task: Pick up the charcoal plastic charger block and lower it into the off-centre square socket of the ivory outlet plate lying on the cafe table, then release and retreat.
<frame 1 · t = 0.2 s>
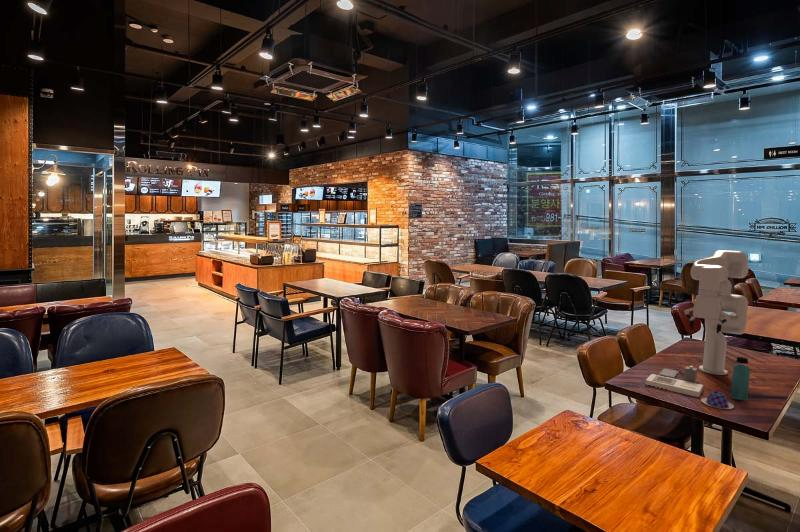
hand: (704, 330, 204), 30 cm above the table, fingers open, 9 cm apart
beverage bottle: (738, 401, 201), on the table
charger: (689, 384, 221), on the table
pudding: (717, 405, 197), on the table
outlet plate: (673, 387, 216), on the table
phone: (668, 374, 235), on the table
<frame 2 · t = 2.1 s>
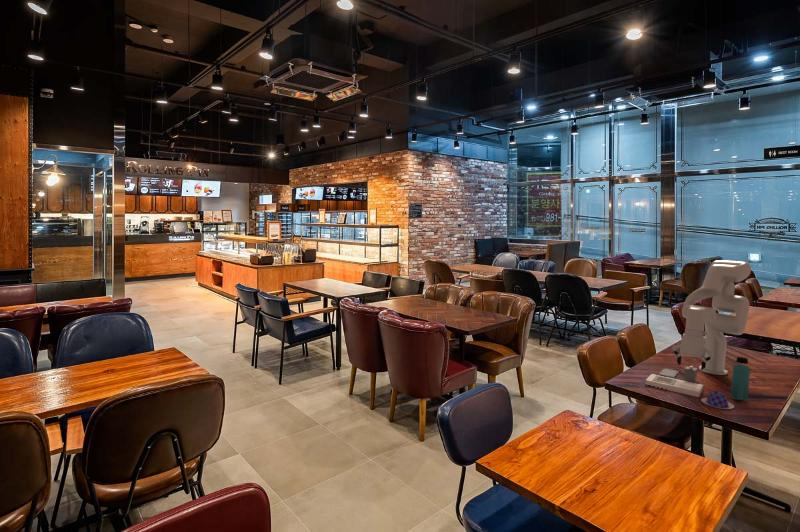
hand: (690, 366, 220), 9 cm above the table, fingers open, 9 cm apart
nothing on the table moved.
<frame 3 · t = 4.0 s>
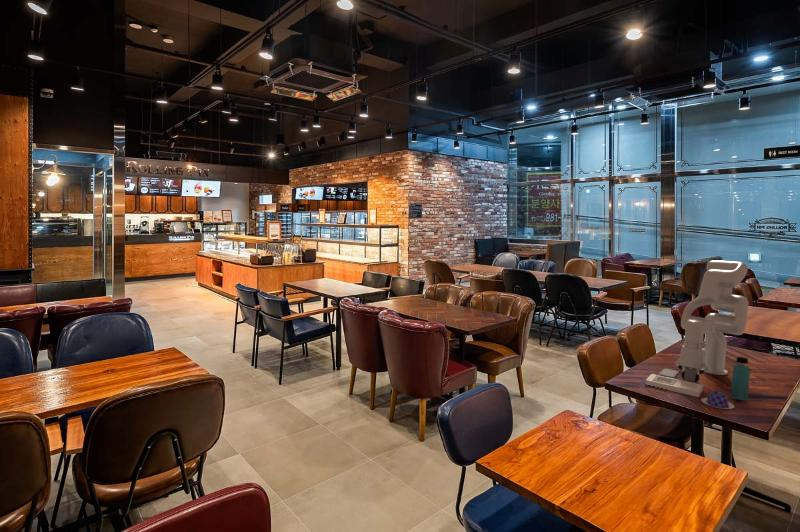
hand: (690, 380, 221), 2 cm above the table, fingers closed on charger, 4 cm apart
charger: (689, 383, 221), on the table, touching gripper
everything else where it was.
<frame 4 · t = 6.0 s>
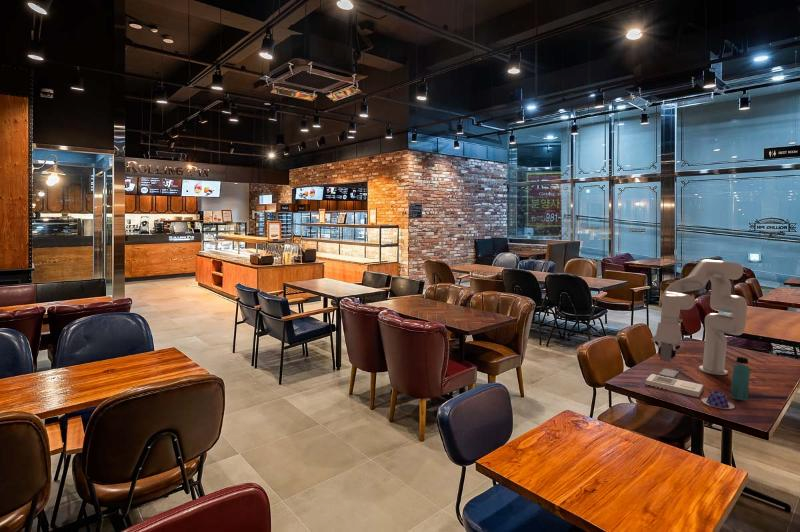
hand: (666, 356, 217), 15 cm above the table, fingers closed on charger, 4 cm apart
charger: (666, 360, 217), point 13 cm above the table, touching gripper
everything else where it was.
when the fingers open (4 cm above the table, at t = 8.0 s): charger drops 2 cm, resting in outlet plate.
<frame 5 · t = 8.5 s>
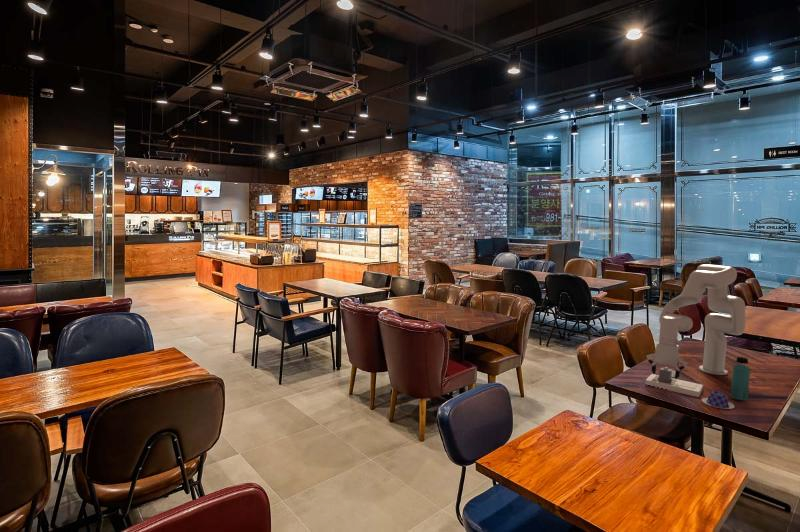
hand: (665, 375, 218), 5 cm above the table, fingers open, 9 cm apart
charger: (664, 385, 219), resting in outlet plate
everything else where it was.
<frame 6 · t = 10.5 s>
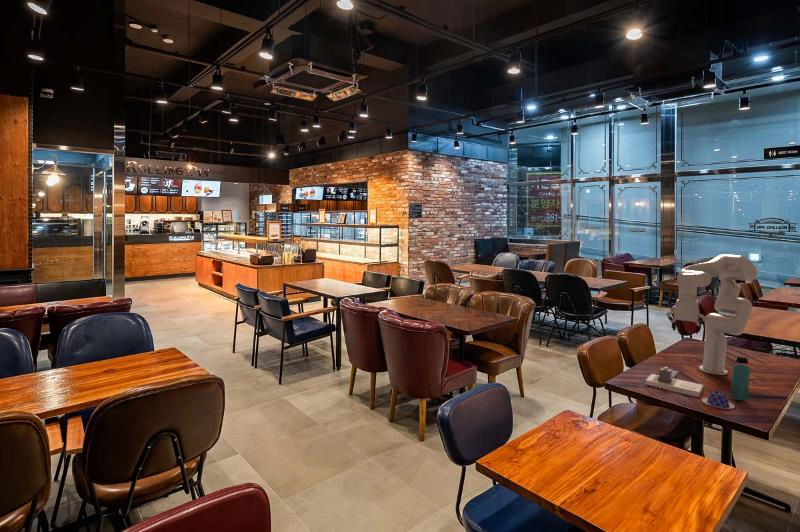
hand: (685, 331, 223), 25 cm above the table, fingers open, 9 cm apart
nothing on the table moved.
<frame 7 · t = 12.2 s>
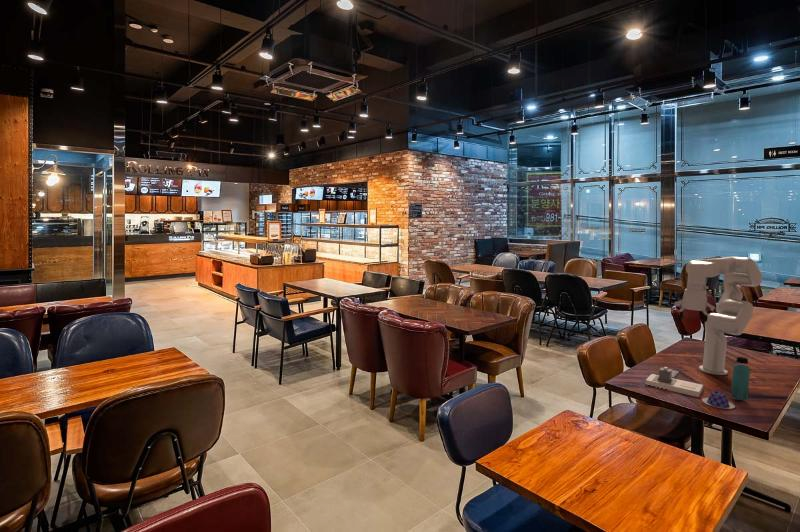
hand: (692, 321, 224), 30 cm above the table, fingers open, 9 cm apart
nothing on the table moved.
at the end: charger 0.1 cm from the target spot on the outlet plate, point 0.0 cm above the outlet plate's base; charger tilted 0°; the gripper is holding nothing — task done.
